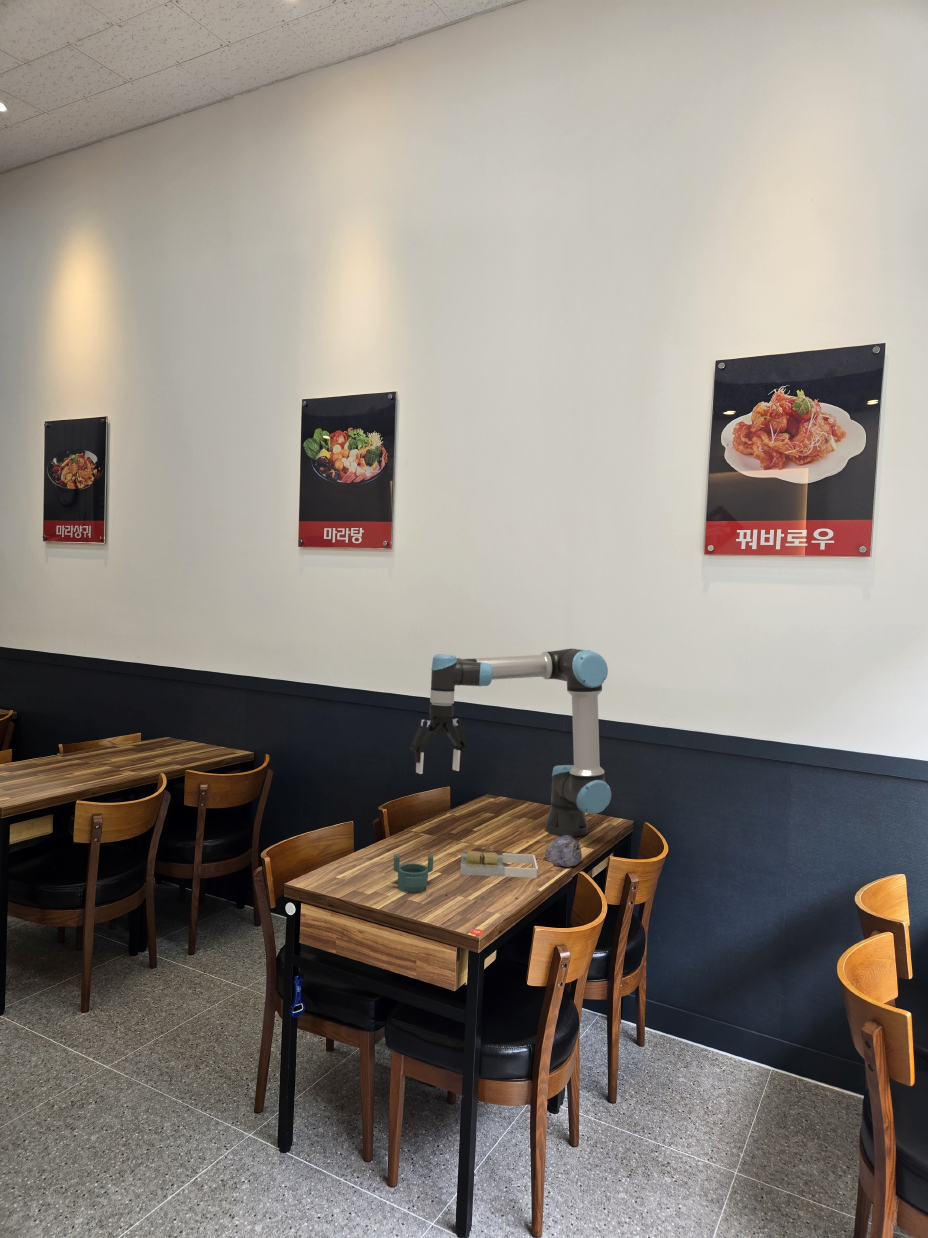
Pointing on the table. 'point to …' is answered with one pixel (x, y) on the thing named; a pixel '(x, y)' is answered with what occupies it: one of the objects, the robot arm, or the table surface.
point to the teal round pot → (412, 875)
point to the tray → (520, 871)
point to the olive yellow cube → (474, 857)
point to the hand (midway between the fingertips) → (437, 771)
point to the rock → (564, 851)
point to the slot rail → (482, 867)
